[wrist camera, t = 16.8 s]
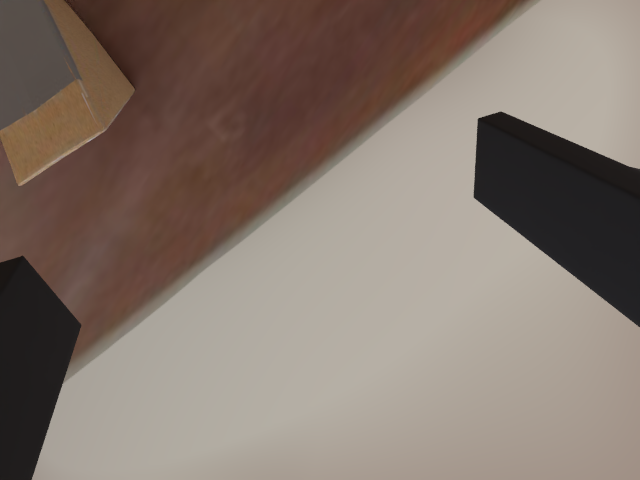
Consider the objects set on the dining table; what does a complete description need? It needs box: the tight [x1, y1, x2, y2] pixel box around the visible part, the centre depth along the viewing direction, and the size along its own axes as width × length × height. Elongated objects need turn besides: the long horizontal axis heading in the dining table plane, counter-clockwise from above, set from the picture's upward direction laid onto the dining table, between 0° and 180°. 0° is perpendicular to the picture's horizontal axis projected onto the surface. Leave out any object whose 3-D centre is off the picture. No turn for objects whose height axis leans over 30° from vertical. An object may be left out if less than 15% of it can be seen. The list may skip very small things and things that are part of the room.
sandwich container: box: [0, 0, 135, 186], centre depth 32 cm, size 9×15×15 cm, turn 28°
